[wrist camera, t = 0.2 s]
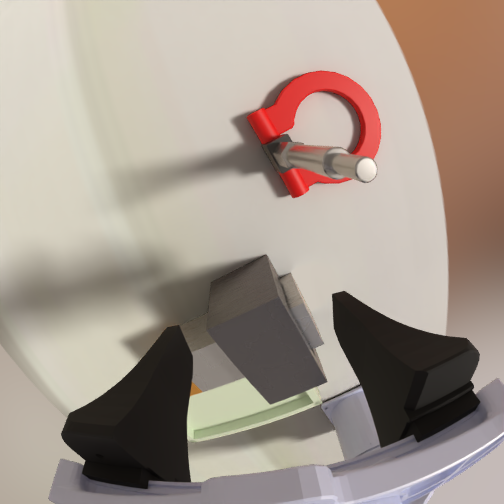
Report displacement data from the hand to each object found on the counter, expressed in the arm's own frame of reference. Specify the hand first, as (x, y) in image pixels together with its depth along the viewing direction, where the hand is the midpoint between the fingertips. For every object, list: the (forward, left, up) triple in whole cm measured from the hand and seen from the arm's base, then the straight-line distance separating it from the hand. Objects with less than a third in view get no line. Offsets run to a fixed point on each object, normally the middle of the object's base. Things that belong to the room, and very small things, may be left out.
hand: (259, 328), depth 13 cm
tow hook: (+6, -9, -10) cm, 15 cm away
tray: (-15, +10, -10) cm, 20 cm away
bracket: (-6, +2, -10) cm, 12 cm away
